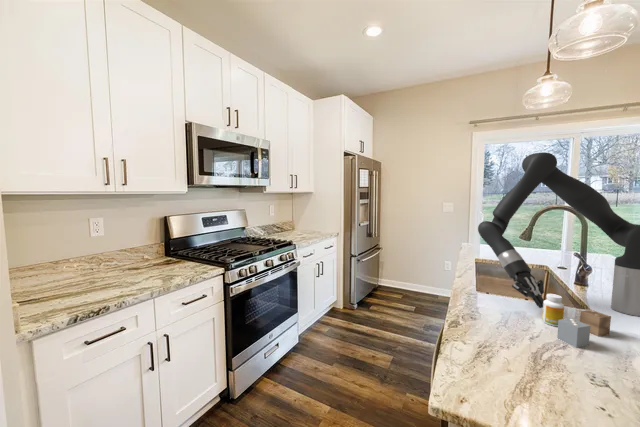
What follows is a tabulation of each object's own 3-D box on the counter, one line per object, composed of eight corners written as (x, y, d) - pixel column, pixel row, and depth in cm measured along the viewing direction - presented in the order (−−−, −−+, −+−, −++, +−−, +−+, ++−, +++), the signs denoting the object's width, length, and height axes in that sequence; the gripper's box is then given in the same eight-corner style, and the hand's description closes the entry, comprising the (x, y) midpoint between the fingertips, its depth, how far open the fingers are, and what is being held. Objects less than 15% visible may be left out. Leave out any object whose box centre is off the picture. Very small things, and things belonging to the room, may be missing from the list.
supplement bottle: (566, 327, 89) (569, 299, 88) (549, 326, 90) (551, 298, 89) (554, 320, 94) (557, 293, 94) (538, 318, 95) (540, 292, 94)
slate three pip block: (569, 336, 83) (570, 317, 83) (588, 345, 78) (590, 325, 78) (557, 338, 82) (558, 319, 82) (576, 347, 77) (577, 327, 77)
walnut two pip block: (590, 327, 90) (591, 309, 89) (609, 334, 85) (611, 315, 84) (579, 328, 88) (580, 310, 88) (598, 336, 84) (599, 317, 83)
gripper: (506, 259, 101) (537, 304, 90) (533, 258, 104) (566, 301, 94) (493, 269, 107) (520, 312, 96) (519, 267, 110) (549, 309, 99)
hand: (543, 306), depth 95 cm, fingers closed
